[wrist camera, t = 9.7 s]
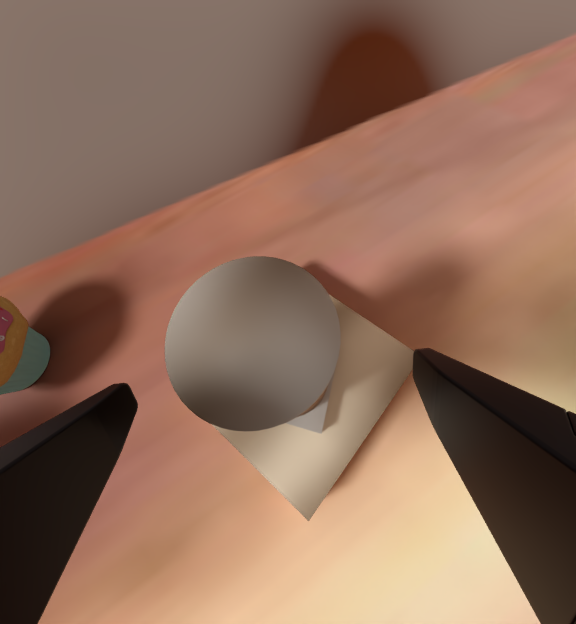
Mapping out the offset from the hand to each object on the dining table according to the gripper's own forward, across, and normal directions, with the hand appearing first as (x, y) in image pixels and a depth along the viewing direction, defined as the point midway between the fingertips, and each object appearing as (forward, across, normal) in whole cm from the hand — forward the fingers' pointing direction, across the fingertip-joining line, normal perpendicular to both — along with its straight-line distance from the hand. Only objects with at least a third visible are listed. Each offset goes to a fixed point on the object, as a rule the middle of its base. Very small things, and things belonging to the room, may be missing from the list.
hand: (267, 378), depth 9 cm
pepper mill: (+7, 0, +5) cm, 9 cm away
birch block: (+9, 0, +7) cm, 12 cm away
